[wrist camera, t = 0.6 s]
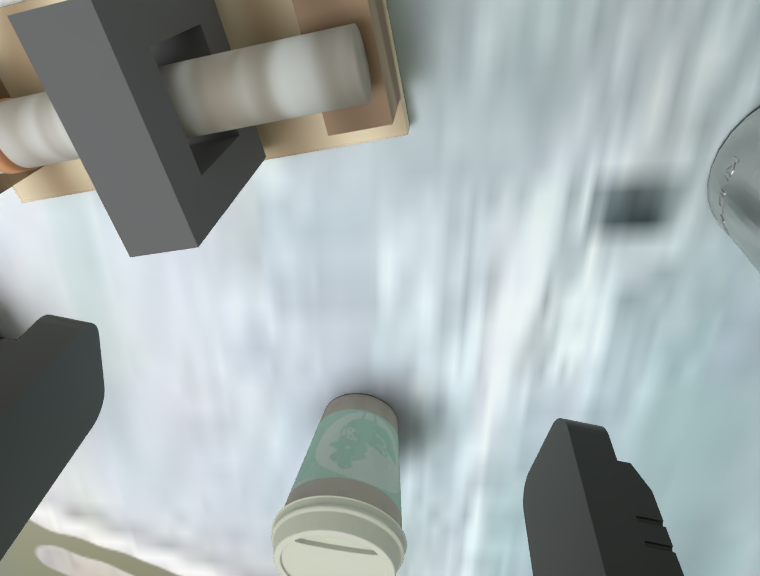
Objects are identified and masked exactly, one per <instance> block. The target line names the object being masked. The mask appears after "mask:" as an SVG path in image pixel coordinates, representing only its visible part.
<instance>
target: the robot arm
mask: <svg viewBox="0 0 760 576" xmlns="http://www.w3.org/2000/svg"><path fill="white" fill-rule="evenodd" d="M708 200H709V204H710V207H711V210H712V213H713V215H714V217H715V218H716V220H717V221H718V223H719V224H720V226H721V227H722V228H723V229H724V231H725V232H726V233H727V234H728V236H730V238H731V239H732V240H733V241H734V242H735V244H736V245H737V246H738V247H739V248H740V250H741V251H742V252H743V253H744V254H745V256H746V257H747V258H748V259H749V261H750V262H751V263H752V264H753V266H754V267H755V268H756V269H757V270H758V271H759V273H760V108H759V109H757V110H756V111H755V112H753V113H752V114H750V115H749V116H748V117H747V118H746V119H745V120H744V121H743V122H742V123H741V124H740V125H739V126H738V127H737V128H736V129H735V130H734V131H733V132H732V133H731V134H730V136H729V137H728V138H727V140H726V141H725V143H724V144H723V146H722V147H721V149H720V150H719V152H718V154H717V156H716V159H715V161H714V163H713V165H712V168H711V172H710V177H709V182H708ZM103 400H104V379H103V369H102V360H101V350H100V340H99V332H98V329H97V327H96V325H95V324H93V323H89V322H84V321H79V320H74V319H69V318H64V317H59V316H54V315H45V316H43V317H41V318H40V319H38V320H37V321H36V322H35V323H34V324H33V325H32V326H31V327H30V328H29V329H28V330H27V331H26V332H25V333H24V334H23V335H22V336H21V337H20V338H19V339H18V340H13V339H8V338H4V339H2V340H0V560H1V559H2V558H3V556H4V555H5V553H6V552H7V550H8V549H9V547H10V546H11V544H12V543H13V542H14V540H15V539H16V537H17V536H18V534H19V533H20V532H21V530H22V529H23V527H24V526H25V524H26V523H27V521H28V520H29V518H30V517H31V516H32V514H33V513H34V511H35V510H36V508H37V507H38V505H39V504H40V502H41V501H42V499H43V498H44V497H45V495H46V494H47V492H48V491H49V489H50V488H51V486H52V485H53V483H54V482H55V481H56V479H57V478H58V476H59V475H60V473H61V472H62V470H63V469H64V467H65V466H66V465H67V463H68V462H69V460H70V459H71V457H72V456H73V454H74V453H75V451H76V450H77V449H78V447H79V446H80V444H81V443H82V441H83V440H84V438H85V437H86V435H87V434H88V433H89V431H90V430H91V428H92V427H93V425H94V424H95V422H96V420H97V418H98V416H99V413H100V410H101V407H102V404H103ZM523 508H524V516H525V523H526V530H527V537H528V543H529V550H530V557H531V564H532V571H533V576H684V574H683V572H682V569H681V566H680V564H679V561H678V559H677V556H676V553H674V552H672V547H673V545H672V543H671V540H670V537H669V535H668V532H667V529H666V527H663V519H662V516H661V514H660V511H659V508H658V506H657V503H656V500H655V498H654V495H653V492H652V491H651V489H650V488H649V487H648V485H647V484H646V483H645V481H644V480H643V479H642V478H641V476H640V475H639V474H638V472H637V471H636V470H635V469H634V467H633V466H632V465H631V463H626V462H621V461H617V458H616V455H615V452H614V449H613V446H612V444H611V441H610V438H609V435H608V432H607V431H606V429H605V428H604V427H602V426H597V425H592V424H587V423H582V422H577V421H572V420H567V419H562V418H559V419H557V420H556V421H555V422H554V423H553V425H552V427H551V429H550V431H549V433H548V435H547V437H546V439H545V441H544V443H543V445H542V447H541V449H540V451H539V453H538V455H537V457H536V459H535V461H534V463H533V465H532V467H531V469H530V471H529V473H528V476H527V479H526V482H525V487H524V496H523Z"/></svg>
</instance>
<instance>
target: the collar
mask: <svg viewBox="0 0 760 576" xmlns="http://www.w3.org/2000/svg"><path fill="white" fill-rule="evenodd" d="M7 17H8V19H9V21H10V23H11V25H12V27H13V29H14V31H15V32H16V34H17V36H18V38H19V40H20V42H21V44H22V46H23V48H24V50H25V52H26V54H27V56H28V58H29V60H30V62H31V64H32V66H33V68H34V70H35V72H36V74H37V76H38V78H39V79H40V81H41V83H42V85H43V87H44V89H45V91H46V93H47V95H48V97H49V99H50V101H51V103H52V105H53V107H54V109H55V111H56V113H57V115H58V117H59V119H60V121H61V123H62V125H63V126H64V128H65V130H66V132H67V134H68V136H69V138H70V140H71V142H72V144H73V146H74V148H75V150H76V152H77V154H78V156H79V158H80V160H81V162H82V164H83V166H84V168H85V170H86V172H87V173H88V175H89V177H90V179H91V181H92V183H93V185H94V187H95V189H96V191H97V193H98V195H99V197H100V199H101V201H102V203H103V205H104V207H105V209H106V211H107V213H108V215H109V217H110V219H111V220H112V222H113V224H114V226H115V228H116V230H117V232H118V234H119V236H120V238H121V240H122V242H123V244H124V246H125V248H126V250H127V252H128V254H129V256H130V257H135V256H142V255H149V254H155V253H162V252H169V251H176V250H182V249H189V248H196V247H199V245H200V244H201V243H202V241H203V240H204V239H205V238H206V236H207V235H208V234H209V232H210V231H211V230H212V228H213V227H214V226H215V224H216V223H217V222H218V220H219V219H220V218H221V216H222V215H223V214H224V212H225V211H226V210H227V208H228V207H229V206H230V204H231V203H232V202H233V200H234V199H235V198H236V196H237V195H238V194H239V192H240V191H241V190H242V188H243V187H244V186H245V184H246V183H247V182H248V181H249V179H250V178H251V177H252V175H253V174H254V173H255V171H256V170H257V169H258V167H259V166H260V165H261V163H262V162H263V161H264V159H265V158H266V155H265V152H264V149H263V146H262V143H261V140H260V137H259V133H258V130H257V127H256V125H254V126H249V127H243V128H238V129H233V130H228V131H222V132H217V133H212V134H207V135H201V136H196V137H191V138H186V136H185V133H184V131H183V128H182V126H181V123H180V121H179V118H178V116H177V113H176V111H175V108H174V106H173V103H172V101H171V98H170V96H169V93H168V91H167V88H166V86H165V83H164V81H163V78H162V76H161V73H160V71H159V68H158V67H159V66H163V65H168V64H172V63H177V62H181V61H186V60H190V59H195V58H199V57H204V56H208V55H213V54H217V53H222V52H226V51H231V49H230V46H229V43H228V40H227V37H226V34H225V31H224V28H223V25H222V22H221V19H220V16H219V13H218V10H217V7H216V4H215V1H214V0H66V1H62V2H59V3H55V4H51V5H47V6H43V7H39V8H35V9H31V10H27V11H24V12H20V13H16V14H12V15H8V16H7Z"/></svg>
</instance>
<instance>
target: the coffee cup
mask: <svg viewBox="0 0 760 576" xmlns="http://www.w3.org/2000/svg"><path fill="white" fill-rule="evenodd" d="M271 541H272V546H273V560H274V564H275V567H276V569H277V571H278V572H279V573H280V575H281V576H396V573H397V571H398V570H399V568H400V567H401V565H402V563H403V560H404V555H405V552H406V548H407V541H406V537H405V534H404V532H403V530H402V516H401V490H400V464H399V439H398V421H397V417H396V415H395V413H394V411H393V410H392V409H391V408H390V407H389V406H388V405H387V404H386V403H384V402H383V401H381V400H379V399H377V398H375V397H372V396H368V395H363V394H349V395H344V396H341V397H338V398H336V399H335V400H333V401H332V402H331V403H329V405H328V406H327V407H326V409H325V411H324V414H323V416H322V418H321V421H320V423H319V425H318V427H317V430H316V432H315V435H314V437H313V439H312V442H311V444H310V447H309V449H308V451H307V454H306V456H305V458H304V461H303V463H302V466H301V468H300V470H299V473H298V475H297V478H296V480H295V482H294V485H293V487H292V489H291V492H290V494H289V497H288V499H287V502H286V504H285V506H284V507H283V508H282V509H281V510H280V511H279V512H278V513H277V515H276V516H275V518H274V521H273V525H272V535H271Z"/></svg>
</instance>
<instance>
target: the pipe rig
mask: <svg viewBox="0 0 760 576" xmlns="http://www.w3.org/2000/svg"><path fill="white" fill-rule="evenodd" d="M62 1H66V0H28V1H24V2H21V3H17V4H13V5H9V6H5V7H1V8H0V194H1V193H2V192H4V191H5V190H7V189H9V188H10V187H13V189H14V190H15V192H16V194H17V196H18V197H19V199H20V201H21V202H22V203H25V202H31V201H36V200H42V199H48V198H53V197H59V196H65V195H70V194H76V193H82V192H87V191H93V190H96V189H95V187H94V185H93V183H92V181H91V179H90V177H89V175H88V173H87V172H86V170H85V168H84V166H83V164H82V162H81V160H80V158H79V156H78V154H77V152H76V150H75V148H74V146H73V144H72V142H71V140H70V138H69V136H68V134H67V132H66V130H65V128H64V126H63V125H62V123H61V121H60V119H59V117H58V115H57V113H56V111H55V109H54V107H53V105H52V103H51V101H50V99H49V97H48V95H47V93H46V91H45V89H44V87H43V85H42V83H41V81H40V79H39V78H38V76H37V74H36V72H35V70H34V68H33V66H32V64H31V62H30V60H29V58H28V56H27V54H26V52H25V50H24V48H23V46H22V44H21V42H20V40H19V38H18V36H17V34H16V32H15V31H14V29H13V27H12V25H11V23H10V21H9V19H8V17H7V16H8V15H12V14H16V13H20V12H24V11H27V10H31V9H35V8H39V7H43V6H47V5H51V4H55V3H59V2H62ZM214 1H215V4H216V7H217V10H218V13H219V16H220V19H221V22H222V25H223V28H224V31H225V34H226V37H227V40H228V43H229V46H230V49H231V51H226V52H222V53H217V54H213V55H208V56H204V57H199V58H195V59H190V60H186V61H181V62H177V63H172V64H168V65H163V66H159V67H158V68H159V71H160V73H161V76H162V78H163V81H164V83H165V86H166V88H167V91H168V93H169V96H170V98H171V101H172V103H173V106H174V108H175V111H176V113H177V116H178V118H179V121H180V123H181V126H182V128H183V131H184V133H185V136H186V138H191V137H196V136H201V135H207V134H212V133H217V132H222V131H228V130H233V129H238V128H243V127H249V126H254V125H256V127H257V130H258V133H259V137H260V140H261V143H262V146H263V149H264V152H265V155H266V158H265V159H264V160H268V159H274V158H279V157H285V156H291V155H296V154H302V153H308V152H313V151H319V150H325V149H330V148H336V147H342V146H347V145H353V144H358V143H364V142H370V141H375V140H381V139H387V138H392V137H398V136H404V135H408V132H409V127H410V125H409V119H408V114H407V109H406V103H405V98H404V93H403V87H402V82H401V77H400V72H399V66H398V61H397V56H396V50H395V45H394V40H393V34H392V29H391V24H390V19H389V13H388V8H387V3H386V0H214Z"/></svg>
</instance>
